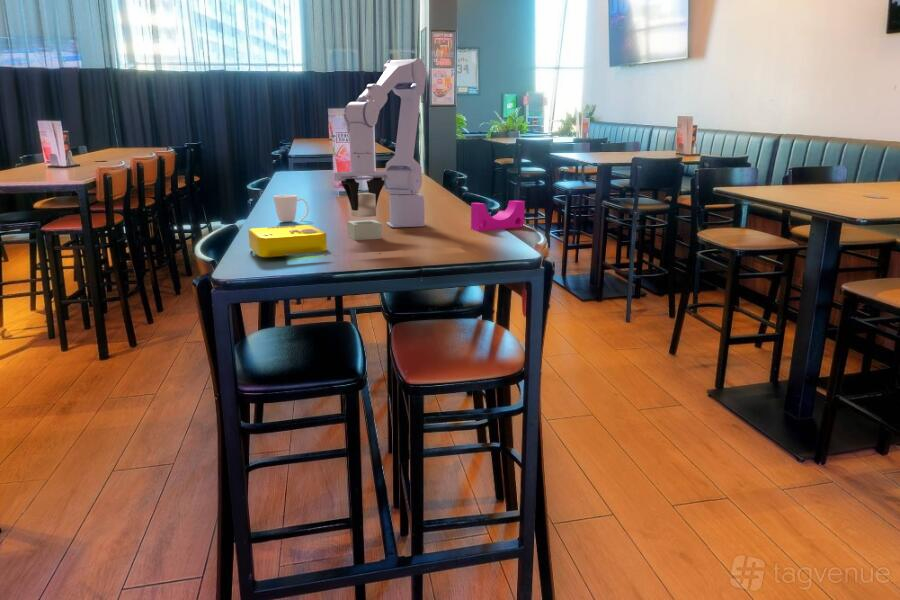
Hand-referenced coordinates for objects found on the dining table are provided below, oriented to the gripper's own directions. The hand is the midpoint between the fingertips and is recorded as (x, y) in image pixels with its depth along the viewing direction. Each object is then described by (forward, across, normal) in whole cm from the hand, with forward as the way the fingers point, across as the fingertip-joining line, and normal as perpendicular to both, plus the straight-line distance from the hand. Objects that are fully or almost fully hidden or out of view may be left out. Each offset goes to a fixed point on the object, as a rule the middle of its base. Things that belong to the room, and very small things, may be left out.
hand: (363, 209), depth 152 cm
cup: (+7, +6, -33) cm, 34 cm away
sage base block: (+7, 0, 0) cm, 7 cm away
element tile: (+8, +22, +4) cm, 23 cm away
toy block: (+7, -37, +7) cm, 38 cm away
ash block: (+2, 0, 0) cm, 2 cm away
